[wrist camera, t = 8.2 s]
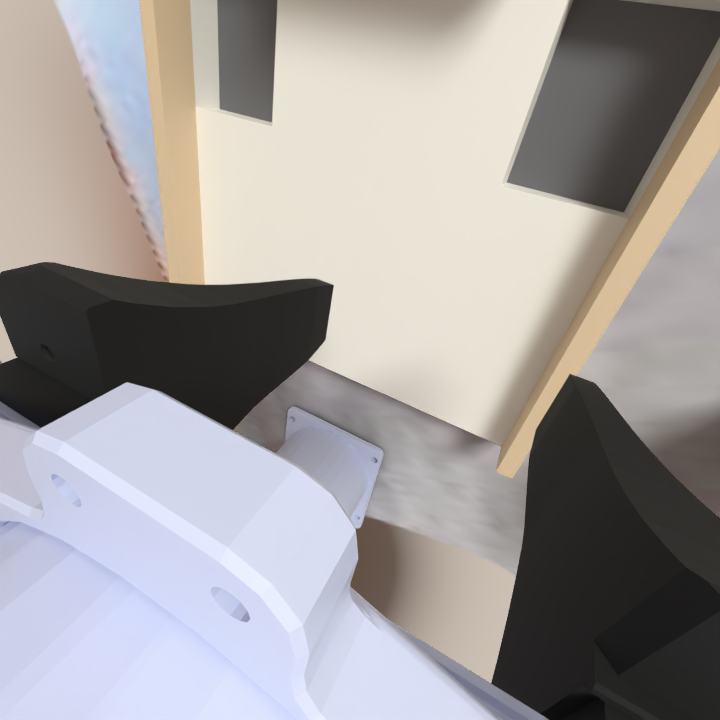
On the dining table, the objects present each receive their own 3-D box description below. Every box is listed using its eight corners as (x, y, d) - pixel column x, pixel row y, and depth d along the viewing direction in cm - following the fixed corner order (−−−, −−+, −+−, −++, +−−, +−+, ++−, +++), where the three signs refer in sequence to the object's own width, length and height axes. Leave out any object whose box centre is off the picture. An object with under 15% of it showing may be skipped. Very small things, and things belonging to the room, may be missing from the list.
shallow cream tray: (519, 430, 22) (512, 479, 19) (218, 301, 28) (173, 321, 25) (964, -334, 8) (1199, -619, 5) (200, -269, 14) (97, -385, 11)
